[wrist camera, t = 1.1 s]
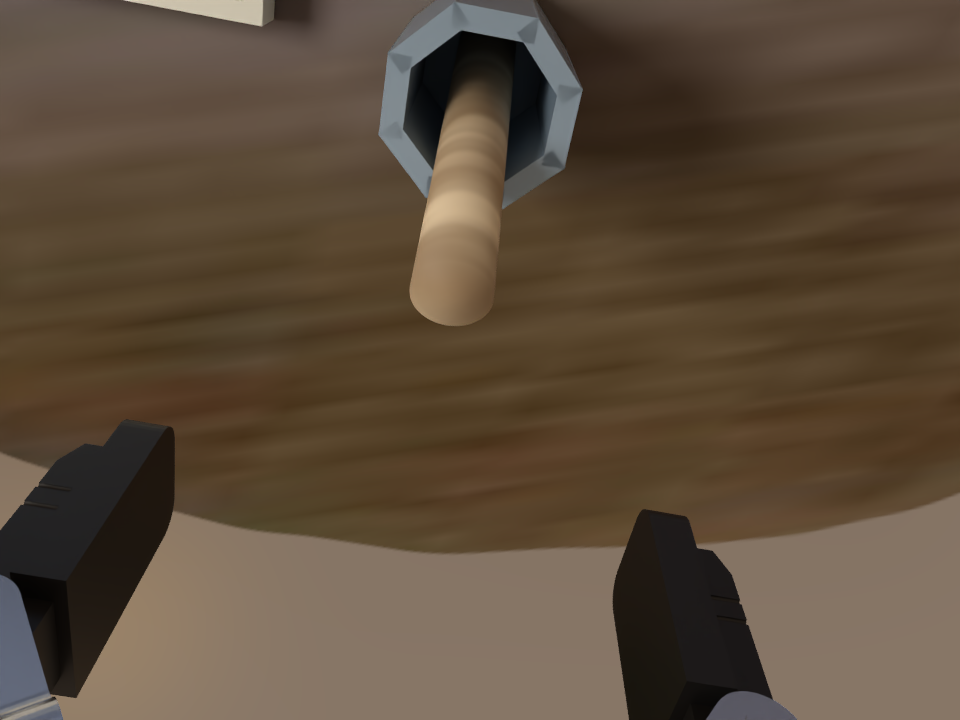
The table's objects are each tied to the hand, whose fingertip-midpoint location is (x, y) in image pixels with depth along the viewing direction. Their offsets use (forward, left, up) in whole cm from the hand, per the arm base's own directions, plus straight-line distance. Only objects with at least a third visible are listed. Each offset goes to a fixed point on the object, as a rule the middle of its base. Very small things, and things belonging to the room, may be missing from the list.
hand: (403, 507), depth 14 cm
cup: (-3, 0, -27) cm, 27 cm away
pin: (-2, 0, -26) cm, 26 cm away
